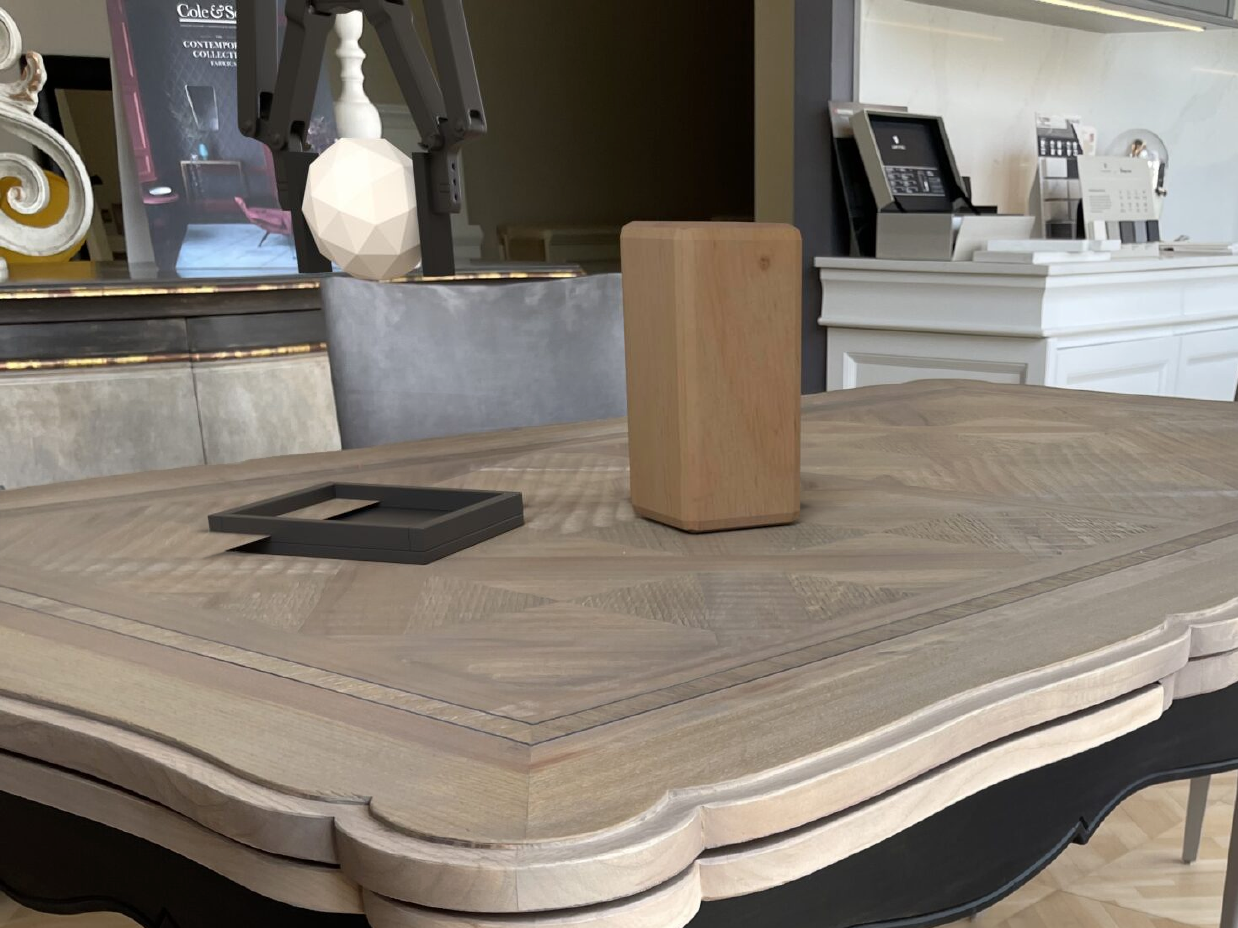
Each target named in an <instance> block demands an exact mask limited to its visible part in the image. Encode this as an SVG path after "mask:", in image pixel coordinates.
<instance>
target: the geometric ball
mask: <svg viewBox="0 0 1238 928" xmlns="http://www.w3.org/2000/svg"><path fill="white" fill-rule="evenodd" d="M302 211H303V214H304V216H305V218H306V221H307V223H308V225H309V228H310V230H311V232H312V235H313V237H314V240H315V242H316V244H317V247H318V249H319V251H320V253H321V254H322V255H324V256H325V257H326V258H328V259H329V260H330V261H332V264H334V265H335V266H337V267H338V268H339V269H341V270H342V271H343V272H345V273H347V274H349V275H350V276H351V277H353V278H355V279H357V280H371V281H384V280H396V279H399V278H401V277H404V276H405V275H406V274H408V273H410V272H411V271H414V269H416V268H417V266H418V265H419V264H420V263H421V262H422V258H421V247H420V237H419V226H418V216H417V205H416V195H415V184H414V173H413V163H412V158H411V157H409V156H407V155H406V154H405V153H404V152H402V150H400V149H399V148H397V147H396V146H395V145H393V144H392V143H391V142H390V141H388V140H387V139H386V138H372V137H371V138H370V137H367V138H366V137H365V138H364V137H341V138H339V139H338V140H337V141H336V142H334V143H333V144H331V145H330V146H329V147H328V148H326V149H325V150H324V151H323V152H322V153H320V154H319V157H318V158H317V159H316V160H315V161H314V162H313V163H312V164H310V167H309V172H308V178H307V183H306V189H305V194H304V200H303V206H302Z"/></svg>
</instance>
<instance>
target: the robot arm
mask: <svg viewBox="0 0 1238 928" xmlns="http://www.w3.org/2000/svg"><path fill="white" fill-rule="evenodd" d="M422 5H423V9H424V14H425V19H426V24H427V28H428V33H429V38H430V43H431V47H432V52H433V53H432V54H433V57H434V60H435V66H436V71H437V76H438V80H439V83H438V81H437V79H436V76H435V74H434V72H433V69H432V67H431V64H430V61H429V59H428V57H427V54H426V52H425V50H424V47H423V45H422V42H421V40H420V37H419V35H418V33H417V30H416V28H415V25H414V14H413V11H412V9H411V7H410V4H409V2H408V0H285V5H284V16H285V18H286V26H285V31H284V36H283V37H284V38H283V42H282V47H281V51H280V52H281V53H280V57H279V11H278V10H279V4H278V0H235V27H236V28H235V34H236V35H235V41H236V42H235V43H236V101H237V103H236V104H237V107H236V109H237V110H236V111H237V128H238V131H239V133H240V134H241V135H242V136H243V137H245V138H251V139H253V140H256V141H258V142H260V143H262V144H264V145H265V146H267V148H268V149H269V150H270V153H271V155H272V162H273V167H274V168H273V170H274V177H275V182H276V184H275V185H276V190H277V191H276V192H277V199H278V203H279V206H280V208H281V210H282V212H290V216H291V225H292V233H293V239H294V240H293V241H294V248H295V257H296V263H297V270H298V271H297V272H298V274H301V275H302V274H303V275H306V274H307V275H311V274H328V273H329V274H330V273H333V272H334V271H333V262H332V261H330V260H329V259H328V258H326V257H325V256H324V255H322V254H321V253H320V251H319V249H318V247H317V244H316V242H315V240H314V237H313V235H312V232H311V230H310V228H309V225H308V223H307V221H306V218H305V216H304V214H303V211H302V206H303V200H304V194H305V189H306V183H307V178H308V172H309V167H310V164H312V163H313V162H314V161H315V160H316V159H317V158H318V157H319V156H320V153H319V152H309V151H310V150H311V149H312V147H313V144H311V143H309V142H308V141H307V139H308V135H309V129H310V125H311V119H312V115H313V110H314V104H315V101H316V100H315V99H316V96H317V91H318V85H319V80H320V75H321V70H322V66H323V61H324V55H325V51H326V45H327V40H328V36H329V34H330V33H331V32H332V31H333V29H334V28H335V25H336V20H337V16H338V15H347V14H349V13H352V12H354V11H357V12H362V13H364V16H365V18H366V20H367V21H368V23H369V25H370V26H372V27H373V28H374V30H375V32H376V34H377V37H378V39H379V41H380V44H381V47H382V49H383V51H384V53H385V56H386V58H387V61H388V63H389V66H390V67H391V69H392V72H393V74H394V77H395V79H396V82H397V84H398V87H399V89H400V92H401V94H402V96H403V98H404V101H405V104H406V105H407V108H408V110H409V113H410V115H411V118H412V120H413V122H414V124H415V127H416V130H417V132H418V134H419V136H420V139H421V140H420V141H418V142H417V145H418V147H419V148H420V149H421V150H422V151H419V152H418V151H411V160H412V163H413V173H414V184H415V195H416V205H417V216H418V226H419V237H420V247H421V258H422V260H421V266H422V277H423V278H440V277H441V278H442V277H454V276H456V265H455V254H454V242H453V241H454V239H453V229H452V219H451V217H452V216H451V214H460V213H461V209H462V205H463V201H462V193H461V192H462V189H461V178H460V177H461V175H460V166H459V165H460V164H459V153H460V151H461V149H462V148H463V147H464V146H466V145H468V144H470V143H471V142H474V141H477V140H483V139H484V138H485V137H486V135H487V132H488V126H487V125H488V124H487V120H486V115H485V110H484V106H483V105H484V104H483V100H482V96H481V90H480V85H479V80H478V77H477V71H476V67H475V62H474V57H473V51H472V46H471V42H470V37H469V32H468V27H467V22H466V18H465V12H464V7H463V2H462V0H422ZM439 85H440V86H439ZM425 151H427V152H425Z"/></svg>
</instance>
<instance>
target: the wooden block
mask: <svg viewBox="0 0 1238 928" xmlns="http://www.w3.org/2000/svg"><path fill="white" fill-rule="evenodd" d="M619 242H620V243H619V245H620V267H621V268H620V271H621V289H622V290H621V291H622V316H623V339H624V341H623V342H624V359H625V360H624V362H625V364H624V366H625V386H626V388H625V389H626V413H627V431H628V432H627V435H628V437H627V438H628V459H629V460H628V463H629V483H630V486H629V487H630V504H631V506H632V510H633V512H634V513H635V514H636V515H638V516H641V517H643V518H646V519H649V520H653V521H655V522H659V523H662V524H664V525H668V526H671V527H674V528H677V529H680V530H682V531H686V532H689V533H691V534H699V533H709V532H719V531H720V532H722V531H729V530H730V531H731V530H732V531H733V530H739V529H740V530H742V529H750V528H751V529H752V528H761V527H771V526H781V525H788V524H789V523H792V522H794V521H796V520H798V518H799V516H800V512H801V443H802V441H801V434H802V433H801V432H802V431H801V429H802V427H801V425H802V424H801V423H802V422H801V420H802V315H803V314H802V311H803V309H802V304H803V303H802V301H803V300H802V299H803V298H802V297H803V295H802V293H803V292H802V291H803V290H802V288H803V238H802V234H801V231H800V229H799V228H797V227H795V226H794V225H792V224H790V223H789V222H757V221H756V222H754V221H752V222H750V221H749V222H748V221H681V220H680V221H676V220H675V221H672V220H670V221H669V220H667V221H665V220H664V221H663V220H661V221H659V220H655V221H654V220H644V221H643V220H633V221H630V222H628V223H627V224H625V225H623V226H622V227H621V231H620V236H619Z"/></svg>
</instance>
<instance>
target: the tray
mask: <svg viewBox="0 0 1238 928" xmlns="http://www.w3.org/2000/svg"><path fill="white" fill-rule="evenodd" d="M336 499H337V500H355V501H371V502H373V501H374V502H373V503H370V504H367V505H364V506H361V507H358V508H354V509H351V510H347V511H344V512H341V513H338V514H335V515H332V516H329V517H326V518H321V519H317V518H302V517H283V515H286V514H289V513H292V512H295V511H298V510H299V511H300V510H303V509H305V508H309V507H312V506H315V505H319V504H322V503H325V502H330V501H332V500H336ZM523 501H524V499H523V492H522V491H509V490H494V489H493V490H491V489H474V488H455V487H440V486H439V487H438V486H419V485H403V484H402V485H400V484H385V483H384V484H383V483H368V482H367V483H365V482H349V481H348V482H347V481H346V482H344V481H330V480H329V481H326V482H322V483H318V484H315V485H312V486H307V487H305V488H301V489H297V490H294V491H290V492H287V493H283V494H279V495H276V496H271V497H268V498H265V499H262V500H258V501H254V502H250V503H247V504H244V505H240V506H236V507H233V508H228V509H225V510H222V511H219V512H215V513H211V514H207V523H208V528H209V532H210V533H224V534H225V533H226V534H239V535H240V534H242V535H256V536H266V537H263V538H259V539H257V540H253V541H249V542H246V543H243V544H241V545H237V546H235V547H231V548H228V549H225V550H224V552H231V553H232V552H234V553H247V554H248V553H249V554H250V553H251V554H261V555H263V554H264V555H278V556H292V557H306V558H307V557H309V558H320V559H321V558H325V559H337V560H352V561H366V562H367V561H368V562H381V563H382V562H383V563H397V564H412V565H427V564H430V563H432V562H435V561H437V560H439V559H441V558H444V557H447V556H450V555H452V554H454V553H457V552H460V551H461V550H464V549H467V548H469V547H471V546H474V545H476V544H478V543H481V542H484V541H486V540H489V539H491V538H493V537H496V536H499V535H501V534H503V533H506V532H509V531H510V530H514V529H515V528H518V527H522V526H524V525H525V514H524V502H523Z"/></svg>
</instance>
